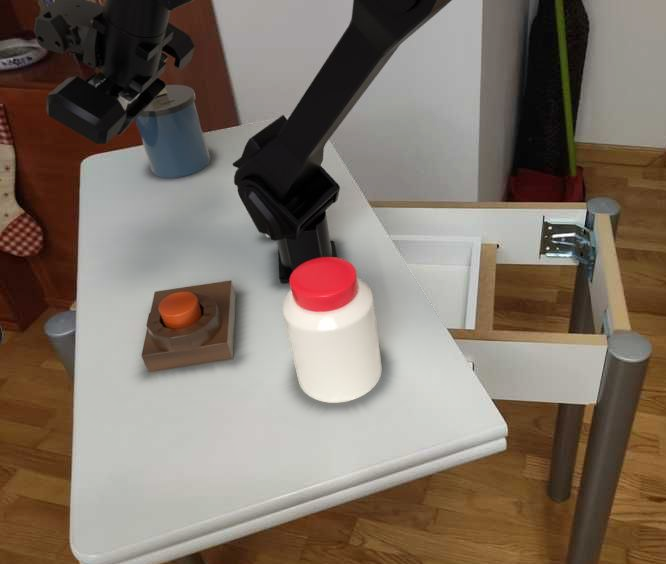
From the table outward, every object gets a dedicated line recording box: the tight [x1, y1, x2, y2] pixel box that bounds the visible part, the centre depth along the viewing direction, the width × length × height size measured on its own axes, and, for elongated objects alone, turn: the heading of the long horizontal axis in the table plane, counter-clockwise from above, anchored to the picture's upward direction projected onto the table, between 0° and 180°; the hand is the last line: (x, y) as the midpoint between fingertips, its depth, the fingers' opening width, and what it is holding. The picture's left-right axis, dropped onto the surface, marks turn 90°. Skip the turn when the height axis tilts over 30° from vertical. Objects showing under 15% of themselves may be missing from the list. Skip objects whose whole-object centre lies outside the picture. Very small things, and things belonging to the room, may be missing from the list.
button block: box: [141, 280, 237, 373], centre depth 65 cm, size 10×8×4 cm
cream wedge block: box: [158, 88, 167, 96], centre depth 90 cm, size 3×2×2 cm
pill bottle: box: [281, 257, 383, 404], centre depth 57 cm, size 8×8×11 cm
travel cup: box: [134, 84, 211, 179], centre depth 92 cm, size 9×9×10 cm
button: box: [158, 292, 202, 329], centre depth 62 cm, size 4×4×2 cm
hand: (117, 131), depth 75 cm, fingers closed
